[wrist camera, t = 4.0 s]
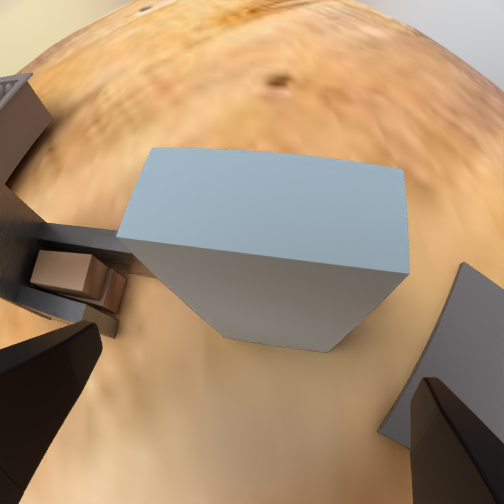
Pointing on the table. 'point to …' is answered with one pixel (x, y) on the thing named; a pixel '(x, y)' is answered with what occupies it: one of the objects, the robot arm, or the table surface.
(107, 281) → the block
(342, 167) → the pale blue-grey block
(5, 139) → the organizer tray
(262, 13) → the table surface
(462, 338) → the rubber mat
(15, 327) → the table surface
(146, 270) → the board rack
